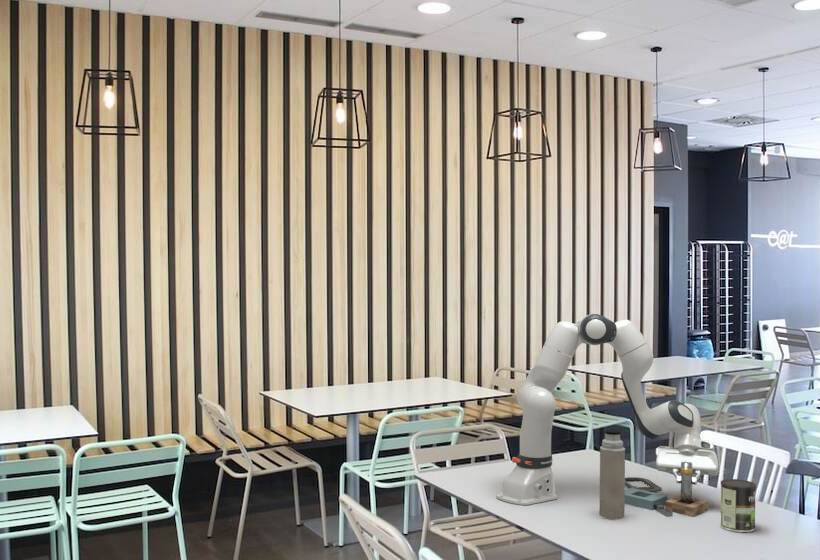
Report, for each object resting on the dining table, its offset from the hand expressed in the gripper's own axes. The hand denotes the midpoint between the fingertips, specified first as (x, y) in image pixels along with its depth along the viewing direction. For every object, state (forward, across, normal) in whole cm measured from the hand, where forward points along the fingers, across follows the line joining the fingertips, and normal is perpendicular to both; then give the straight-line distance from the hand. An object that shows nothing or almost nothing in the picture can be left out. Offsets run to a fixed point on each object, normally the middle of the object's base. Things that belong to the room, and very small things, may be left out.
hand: (686, 483), depth 283 cm
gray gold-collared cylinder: (+6, 0, +7) cm, 9 cm away
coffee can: (+16, +16, -2) cm, 22 cm away
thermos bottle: (+16, -23, -3) cm, 28 cm away
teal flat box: (+3, -15, +10) cm, 18 cm away
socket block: (+6, 0, +7) cm, 9 cm away
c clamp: (-11, -18, +25) cm, 33 cm away
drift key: (+10, -7, +3) cm, 13 cm away
